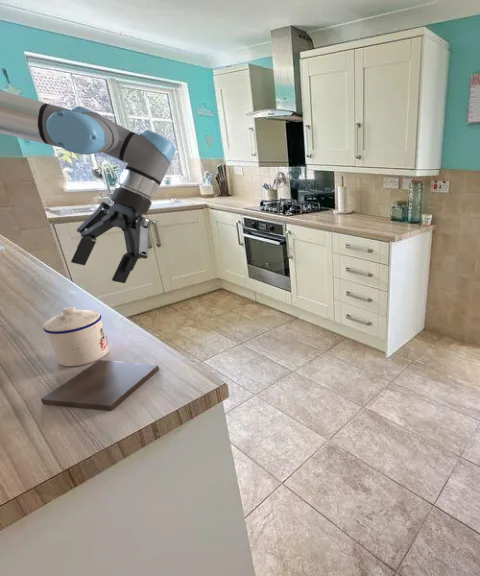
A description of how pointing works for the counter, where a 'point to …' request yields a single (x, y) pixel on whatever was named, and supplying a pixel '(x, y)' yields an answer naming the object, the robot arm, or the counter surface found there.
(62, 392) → the serving board
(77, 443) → the counter surface
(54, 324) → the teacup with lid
